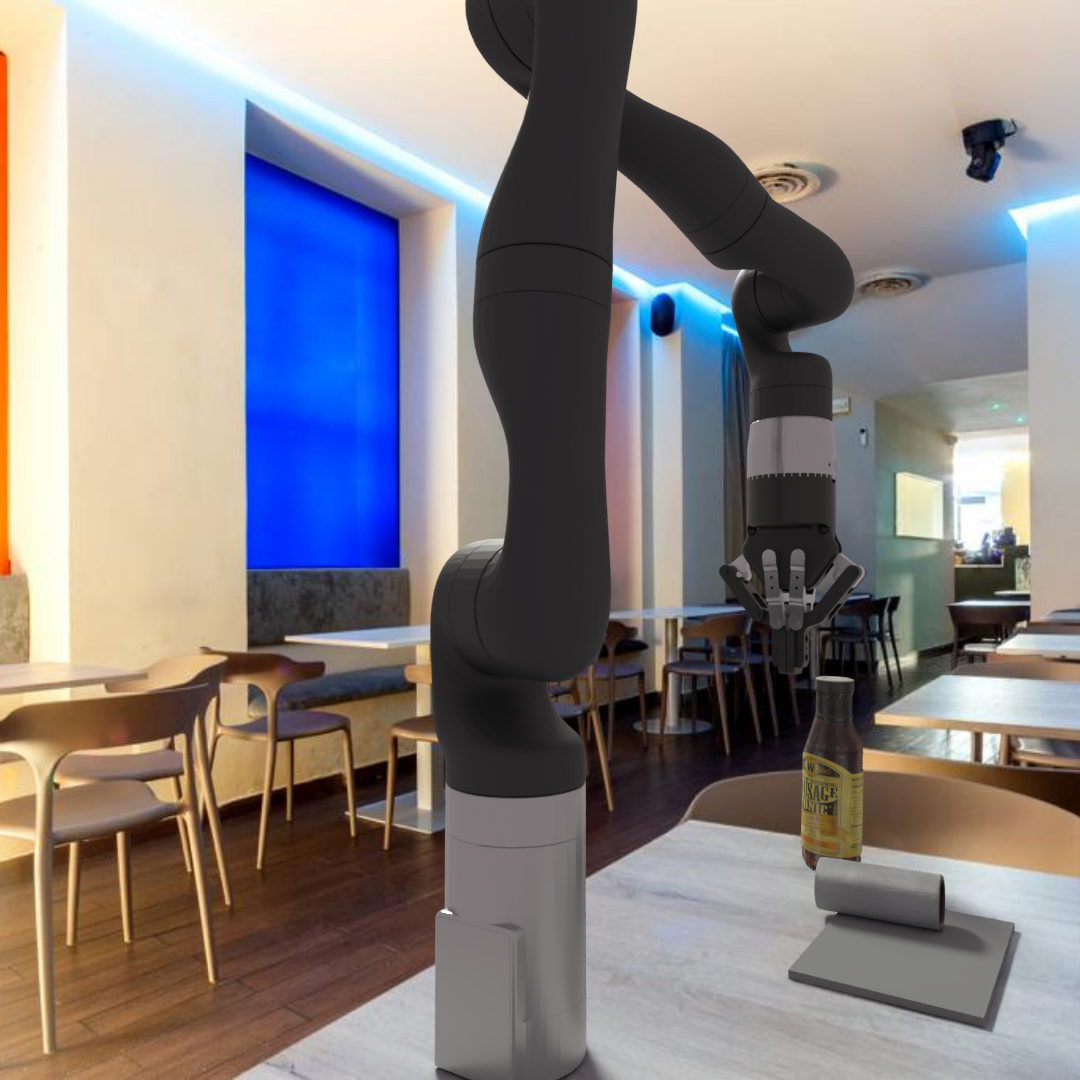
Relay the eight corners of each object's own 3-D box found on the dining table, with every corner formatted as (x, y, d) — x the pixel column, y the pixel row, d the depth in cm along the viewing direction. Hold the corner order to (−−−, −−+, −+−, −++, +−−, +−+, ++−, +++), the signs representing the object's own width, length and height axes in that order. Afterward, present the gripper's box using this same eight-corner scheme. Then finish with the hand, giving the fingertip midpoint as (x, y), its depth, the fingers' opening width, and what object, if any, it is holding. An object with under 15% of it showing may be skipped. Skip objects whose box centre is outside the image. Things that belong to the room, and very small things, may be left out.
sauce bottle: (788, 859, 96) (787, 675, 97) (833, 852, 99) (831, 673, 100) (832, 878, 90) (830, 682, 91) (878, 870, 93) (875, 679, 94)
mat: (984, 1027, 61) (983, 1018, 61) (788, 977, 68) (788, 969, 68) (1014, 929, 77) (1014, 922, 77) (854, 898, 85) (854, 892, 85)
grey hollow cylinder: (815, 918, 79) (941, 941, 74) (812, 870, 79) (939, 890, 74) (825, 893, 83) (946, 913, 78) (823, 847, 83) (944, 865, 78)
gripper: (703, 474, 79) (702, 671, 78) (856, 464, 71) (857, 682, 70) (735, 483, 85) (734, 665, 84) (879, 475, 77) (880, 675, 77)
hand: (790, 673), depth 77 cm, fingers closed
